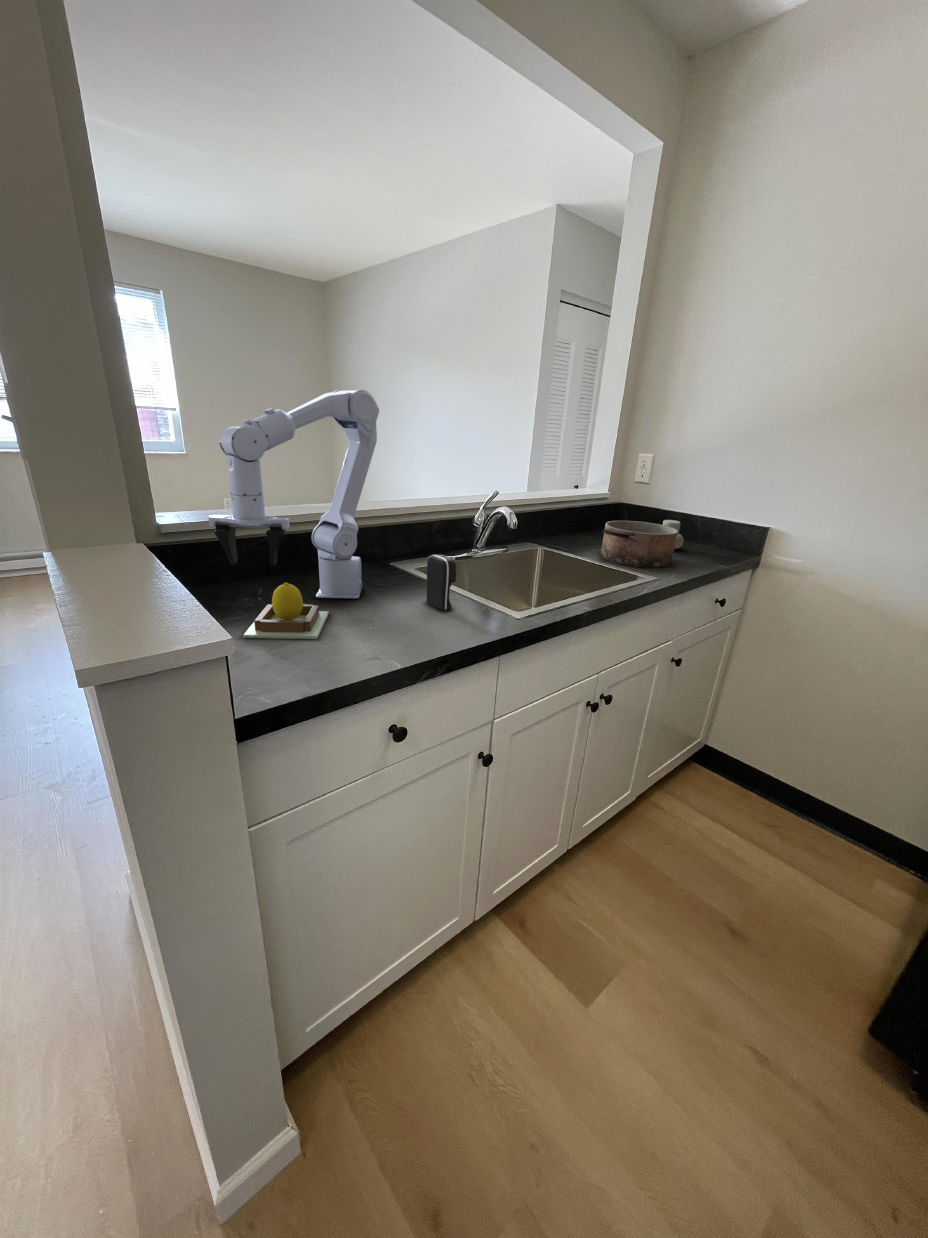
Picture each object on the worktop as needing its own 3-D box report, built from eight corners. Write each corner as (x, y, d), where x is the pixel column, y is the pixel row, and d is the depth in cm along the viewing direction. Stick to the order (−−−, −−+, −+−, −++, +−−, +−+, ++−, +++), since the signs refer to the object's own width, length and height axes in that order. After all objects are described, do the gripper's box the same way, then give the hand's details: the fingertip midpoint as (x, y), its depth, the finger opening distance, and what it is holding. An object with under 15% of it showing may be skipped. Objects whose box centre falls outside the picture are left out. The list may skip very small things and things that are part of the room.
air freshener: (663, 544, 190) (669, 518, 186) (684, 548, 184) (690, 522, 181) (648, 547, 183) (653, 520, 180) (669, 552, 178) (675, 524, 174)
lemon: (278, 616, 98) (274, 578, 95) (306, 617, 98) (304, 578, 96) (270, 627, 93) (266, 586, 90) (300, 628, 93) (297, 587, 90)
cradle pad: (328, 613, 103) (328, 602, 102) (317, 639, 91) (316, 626, 90) (264, 612, 101) (262, 600, 100) (243, 638, 89) (241, 624, 88)
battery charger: (456, 609, 110) (459, 558, 105) (442, 612, 107) (445, 560, 103) (438, 600, 115) (440, 551, 111) (425, 602, 112) (426, 553, 108)
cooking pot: (635, 548, 181) (641, 518, 177) (691, 562, 164) (698, 530, 160) (578, 555, 164) (583, 523, 161) (634, 572, 148) (640, 537, 144)
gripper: (198, 495, 90) (208, 567, 95) (281, 498, 91) (286, 570, 96) (213, 490, 96) (221, 558, 101) (290, 493, 98) (294, 560, 103)
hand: (254, 563), depth 99 cm, fingers open, 7 cm apart
